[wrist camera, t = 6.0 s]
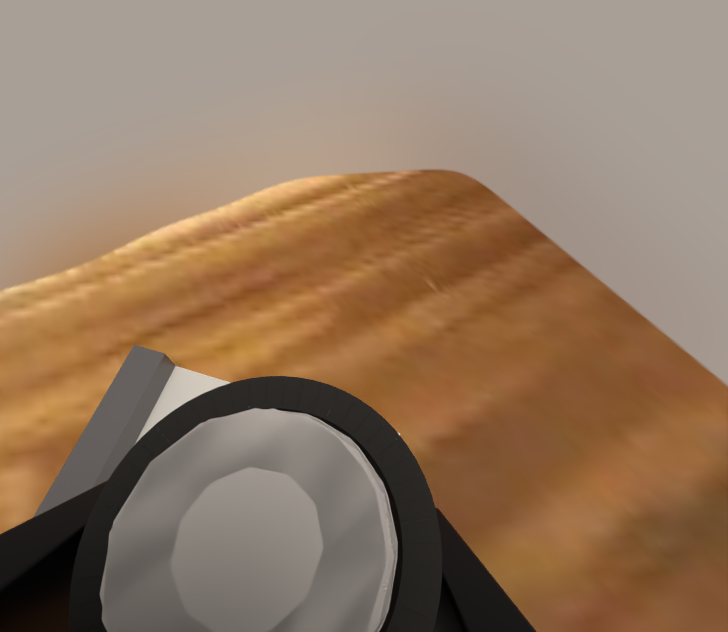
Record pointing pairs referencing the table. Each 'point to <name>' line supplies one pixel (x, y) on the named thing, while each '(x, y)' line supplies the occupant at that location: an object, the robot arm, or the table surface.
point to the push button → (262, 521)
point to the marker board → (125, 419)
